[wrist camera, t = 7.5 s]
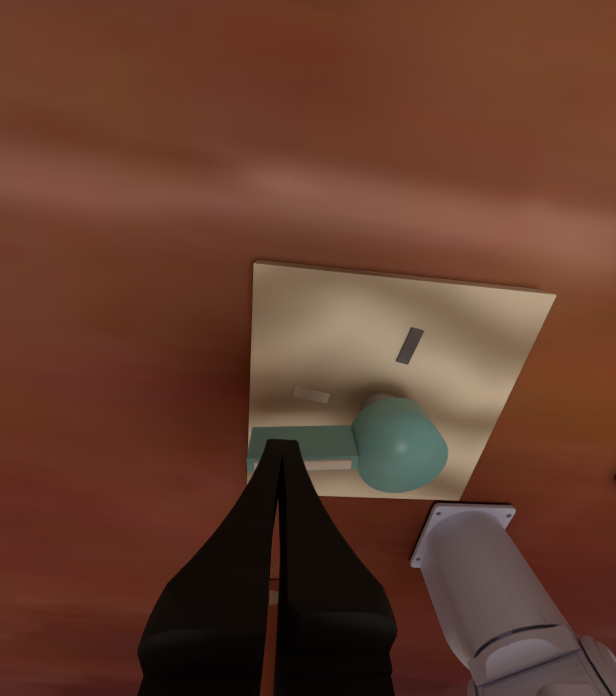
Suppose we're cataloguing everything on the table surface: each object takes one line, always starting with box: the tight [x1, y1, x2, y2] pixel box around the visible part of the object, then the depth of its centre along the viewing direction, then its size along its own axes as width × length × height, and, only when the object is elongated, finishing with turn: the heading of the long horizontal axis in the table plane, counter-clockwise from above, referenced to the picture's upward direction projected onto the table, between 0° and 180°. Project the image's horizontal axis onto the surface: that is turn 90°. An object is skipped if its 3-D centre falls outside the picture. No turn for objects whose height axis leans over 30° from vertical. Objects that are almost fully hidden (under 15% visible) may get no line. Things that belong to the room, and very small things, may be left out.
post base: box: [247, 259, 556, 500], centre depth 20 cm, size 18×18×4 cm
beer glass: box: [260, 580, 279, 696], centre depth 26 cm, size 7×7×15 cm
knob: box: [247, 397, 448, 493], centre depth 17 cm, size 11×5×3 cm, turn 89°
